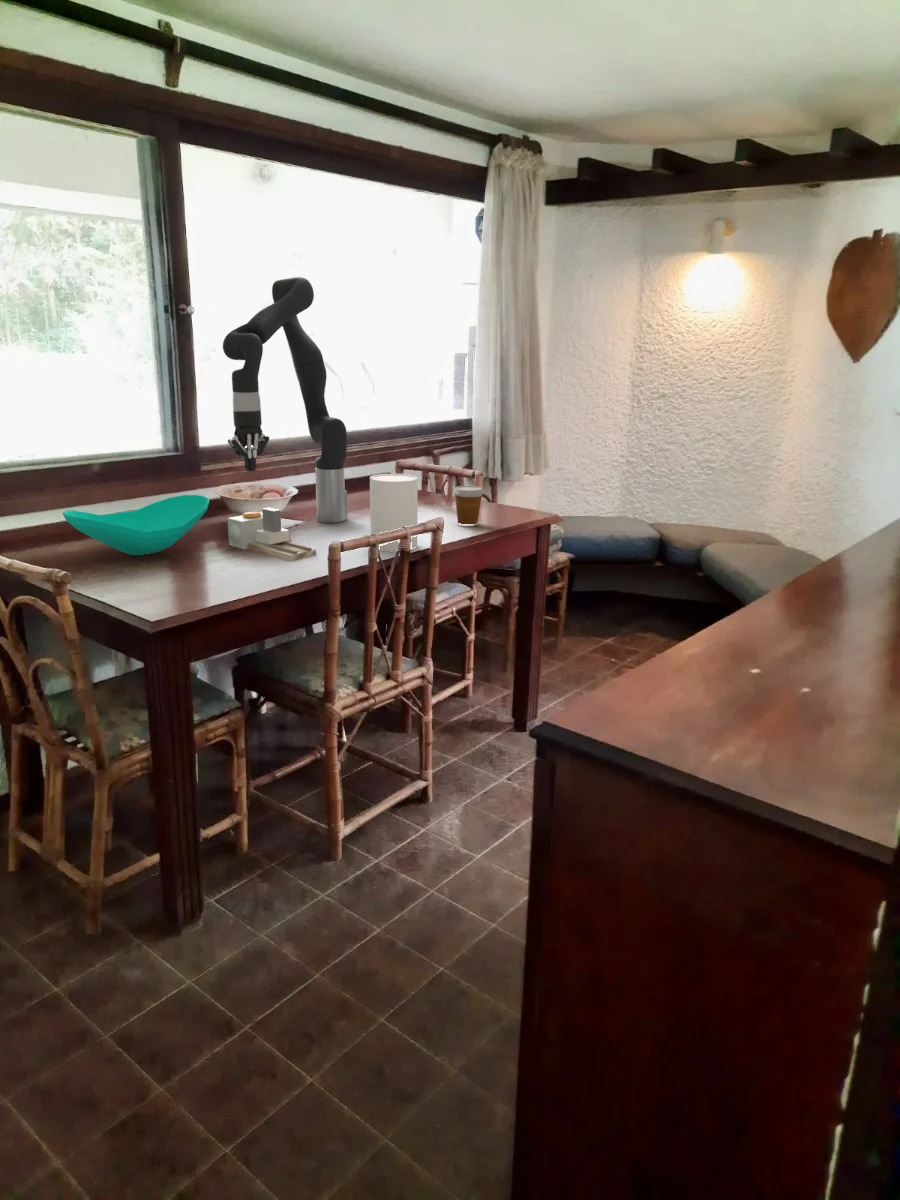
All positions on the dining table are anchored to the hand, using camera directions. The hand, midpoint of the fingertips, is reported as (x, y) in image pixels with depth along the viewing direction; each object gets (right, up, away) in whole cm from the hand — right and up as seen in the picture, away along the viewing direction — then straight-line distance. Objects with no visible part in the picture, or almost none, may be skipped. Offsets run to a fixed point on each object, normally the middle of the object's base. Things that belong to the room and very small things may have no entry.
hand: (250, 471), depth 236 cm
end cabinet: (-1, -20, +6) cm, 21 cm away
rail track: (+9, -23, -2) cm, 25 cm away
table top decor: (-28, -23, -5) cm, 37 cm away
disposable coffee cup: (+62, -12, +35) cm, 72 cm away
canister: (+40, -21, +6) cm, 46 cm away
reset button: (0, -14, +4) cm, 15 cm away
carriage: (+6, -20, -1) cm, 21 cm away
